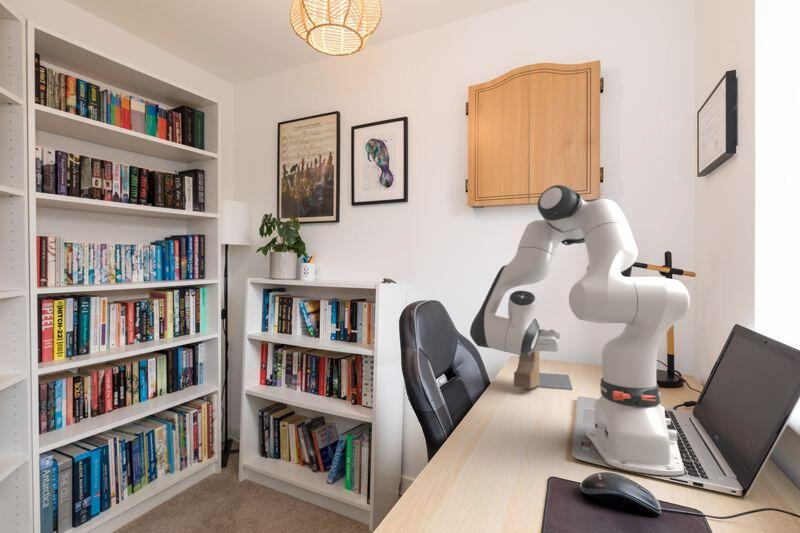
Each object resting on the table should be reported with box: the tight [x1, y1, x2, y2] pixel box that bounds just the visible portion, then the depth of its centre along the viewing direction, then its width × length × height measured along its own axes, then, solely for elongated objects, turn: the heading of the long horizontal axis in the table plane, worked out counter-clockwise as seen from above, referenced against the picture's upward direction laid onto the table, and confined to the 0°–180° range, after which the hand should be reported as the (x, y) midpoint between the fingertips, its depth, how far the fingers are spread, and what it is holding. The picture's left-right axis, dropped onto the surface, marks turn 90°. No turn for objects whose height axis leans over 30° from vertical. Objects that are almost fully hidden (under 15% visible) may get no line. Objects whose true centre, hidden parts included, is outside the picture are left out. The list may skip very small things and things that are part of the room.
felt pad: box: [536, 372, 573, 391], centre depth 143 cm, size 18×19×1 cm
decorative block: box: [513, 351, 540, 390], centre depth 133 cm, size 11×6×20 cm, turn 144°
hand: (525, 354), depth 131 cm, fingers closed
